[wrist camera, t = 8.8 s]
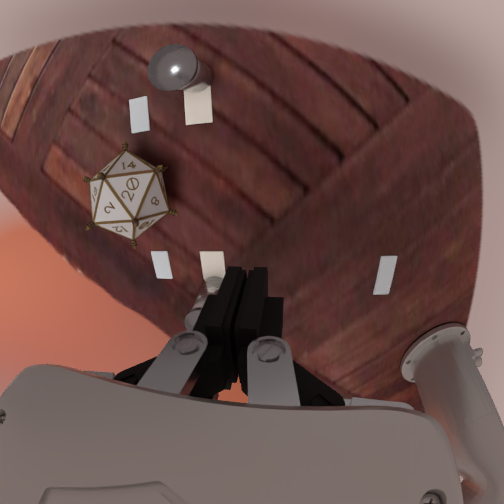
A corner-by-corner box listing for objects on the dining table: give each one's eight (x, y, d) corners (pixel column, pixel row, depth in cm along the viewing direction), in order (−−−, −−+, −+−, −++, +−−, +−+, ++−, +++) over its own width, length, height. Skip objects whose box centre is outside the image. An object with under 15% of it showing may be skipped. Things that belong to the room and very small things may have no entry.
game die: (152, 160, 29) (107, 111, 19) (207, 198, 27) (171, 147, 17) (104, 224, 28) (44, 196, 18) (153, 270, 27) (93, 254, 17)
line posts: (215, 57, 20) (195, 40, 14) (233, 299, 32) (223, 340, 26) (177, 63, 20) (146, 50, 15) (202, 298, 32) (188, 337, 26)
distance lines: (412, 94, 20) (413, 94, 19) (388, 293, 30) (388, 294, 30) (129, 100, 22) (129, 100, 22) (161, 291, 32) (160, 292, 32)
